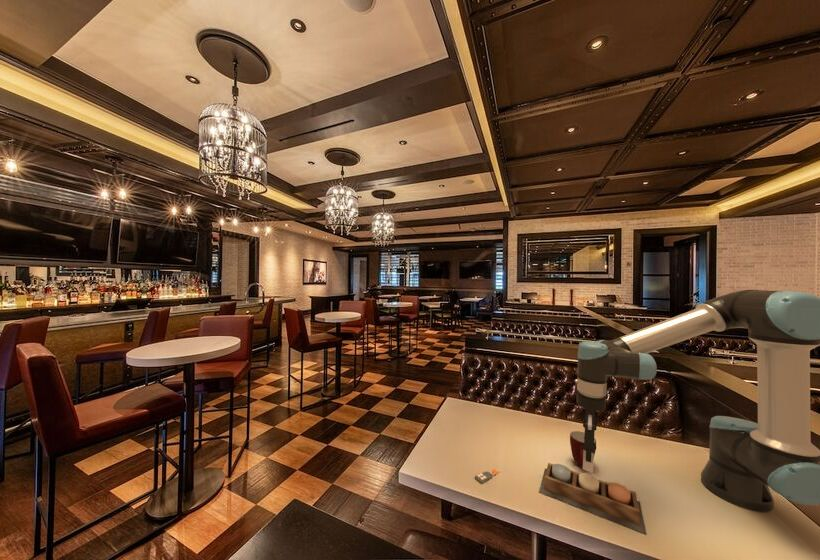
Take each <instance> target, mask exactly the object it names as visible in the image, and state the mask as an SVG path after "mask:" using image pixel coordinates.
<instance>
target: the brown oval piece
mask: <svg viewBox="0 0 820 560" xmlns="http://www.w3.org/2000/svg"><path fill="white" fill-rule="evenodd" d="M608 483H609V484H608V498H609V499H612V500H614V501H617V502H620V503H623V504H625V505H628V506H630V491H629V490H630V489H629V488H627V487H626V486H624V485H623V484H621V483H618V482H608Z"/></svg>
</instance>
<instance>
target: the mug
mask: <svg viewBox="0 0 820 560" xmlns="http://www.w3.org/2000/svg"><path fill="white" fill-rule="evenodd" d="M584 436H585V431H584V432H583V431H578V430H576V431H575V430H573V431H571V432H570V433H569V443H570V444H569V445H570V450H571V456H572V457H573V460H574V462H575V464H576V465H577V466H578V467H580V468H582V469H583V449H581V446H584ZM594 445H595V446H596V447H597V440H596V438H595V437H594ZM596 450H597V448H596V449H595V448H594V456H595V454H596Z"/></svg>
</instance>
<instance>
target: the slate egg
mask: <svg viewBox="0 0 820 560" xmlns="http://www.w3.org/2000/svg"><path fill="white" fill-rule="evenodd" d="M570 470H571V469H570V468H569V467H568V466H566V465H564V464H561V463H554V465H553V466H552V478H554V479H557V480H559V481H562V482H565V483H568V484H570V474H571V472H570Z"/></svg>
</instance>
